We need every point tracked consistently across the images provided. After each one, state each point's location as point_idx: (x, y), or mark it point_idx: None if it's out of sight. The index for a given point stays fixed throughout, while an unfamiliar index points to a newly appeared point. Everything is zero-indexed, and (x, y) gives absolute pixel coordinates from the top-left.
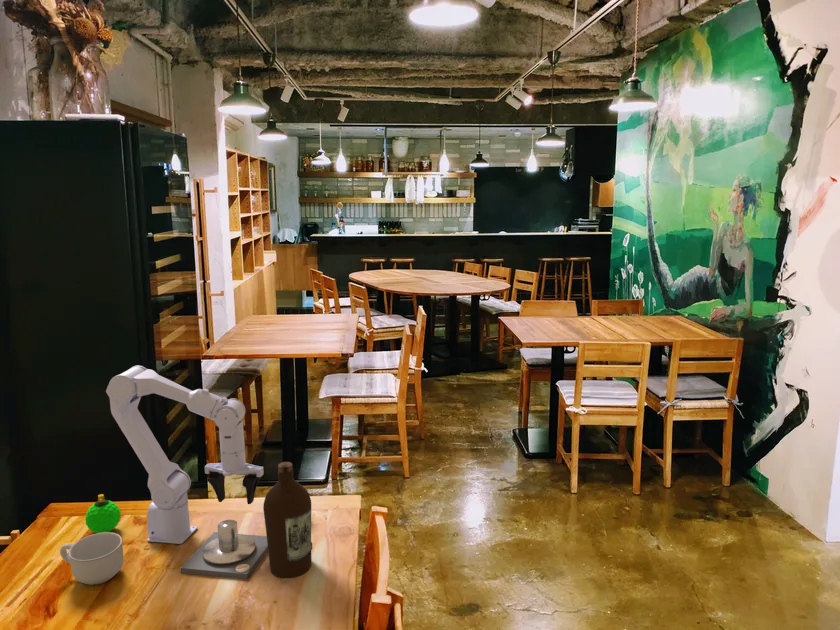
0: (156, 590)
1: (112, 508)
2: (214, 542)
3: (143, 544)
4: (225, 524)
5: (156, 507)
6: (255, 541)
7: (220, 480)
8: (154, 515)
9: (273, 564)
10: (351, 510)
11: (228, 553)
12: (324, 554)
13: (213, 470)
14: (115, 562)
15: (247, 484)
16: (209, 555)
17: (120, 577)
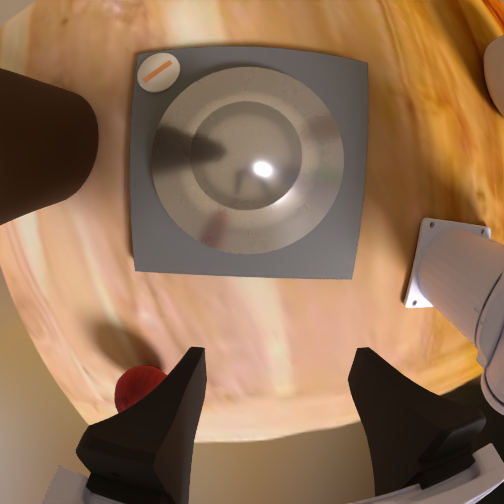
0: (375, 6)
1: None
2: (319, 189)
3: (489, 215)
4: (256, 152)
5: None
6: (182, 236)
7: (395, 446)
8: None
9: (60, 88)
10: (64, 391)
11: None
12: (16, 219)
13: (466, 485)
14: (500, 52)
15: (139, 431)
16: (299, 100)
17: (473, 74)
